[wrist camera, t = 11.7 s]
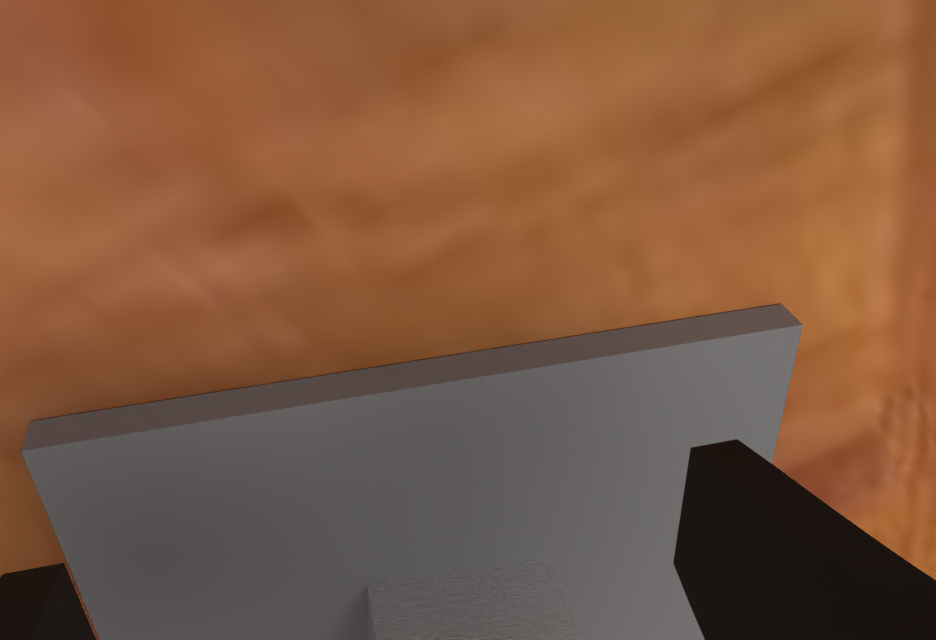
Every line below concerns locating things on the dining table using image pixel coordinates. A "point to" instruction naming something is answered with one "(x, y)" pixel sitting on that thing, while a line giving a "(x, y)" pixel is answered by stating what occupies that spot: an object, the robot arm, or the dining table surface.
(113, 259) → the dining table surface
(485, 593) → the square socket
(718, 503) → the robot arm
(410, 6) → the dining table surface
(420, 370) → the block
